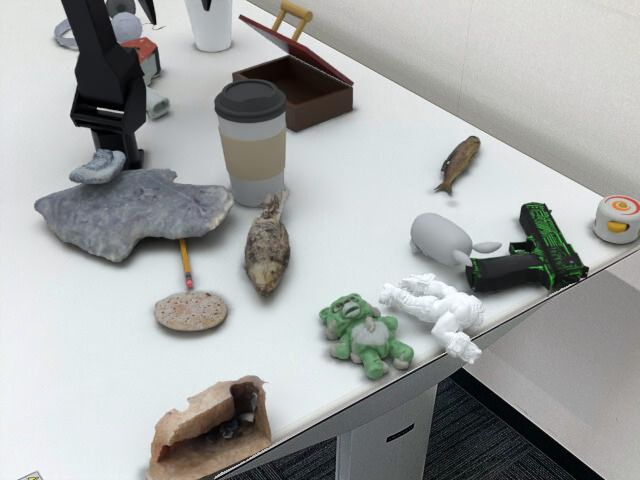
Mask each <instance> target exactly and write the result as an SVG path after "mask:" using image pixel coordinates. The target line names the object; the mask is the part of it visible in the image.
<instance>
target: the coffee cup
mask: <svg viewBox="0 0 640 480" xmlns="http://www.w3.org/2000/svg"><path fill="white" fill-rule="evenodd" d="M213 105H214V107H213V109H214V113H215V114H216V116H217V122H218V125H217V126H218V134H219V139H220V143H221V148H222V149H221V150H222V154H223V158H224V163H225V167H226V168H225V169H226V171H227V173H228V179H229V183H230V187H231V193H232V194H233V197H234V201H235V202H236V203H238V204H240V205H242V206H245V207H250V208H260V207H261V208H263V206H262V205H261V206H259V205H260V204H261V203H265V196H266V194H267V193H270V194H272V195H273V196H275V195H276V194H277V193H278V191H279V190H280V189H282V190H283V191H285V169H286V157H287V155H286V153H287V152H286V151H287V149H286V148H287V127H286V121H285V111H286V109H287V102H286V96H285V94H284V93H283V92H282V91H281V90H279V89H277V87H276V86H275V85H274V84H273V83H271V82H269V81H266V80H261V79H244V80H238V81H235V82H233V81H232V82H230V83H228V84H226V85H225V86H224V87H222V90H221V91H220V92H218V93H217V95H216V96H215V97H214V100H213ZM274 194H275V195H274ZM258 206H259V207H258Z"/></svg>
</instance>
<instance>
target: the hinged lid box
mask: <svg viewBox="0 0 640 480" xmlns="http://www.w3.org/2000/svg"><path fill="white" fill-rule="evenodd" d="M231 78H232V82H235V81H238V80H244V79H261V80H266V81H269V82H271V83H273V84H274V85H275V86H276V87H277V89H279V90H281V91H282V92H283V93H284V94H285V96H286V102H287V109H286V111H285V121H286V128H287V129H289V130H291V131H293V132H294V133H297V132H300V131H302V130H305V129H308V128H310V127H313V126H315V125H318V124H320V123H323V122H327V121H328V120H331V119H334V118H336V117H338V116H341V115H344V114H347V113H349V112H352V111H353V110H354V87H353V86H350V85H348V84H346V83H344V82H342V81H340V80H338V79H336V78H334V77H332V76H330V75H328V74H326V73H324V72H322V71H320V70H318V69H316V68H315V67H313V66H311V65H309V64H307V63H305V62H303V61H301V60H299V59H297V58H295V57H293V56H291V55H289V54H287V55H283V56H281V57H276V58H274V59H271V60H268V61H264V62H261V63H259V64H256V65H252V66H249V67H246V68H243V69H239V70H236V71H233V72H231Z"/></svg>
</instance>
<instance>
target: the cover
mask: <svg viewBox="0 0 640 480" xmlns="http://www.w3.org/2000/svg"><path fill="white" fill-rule="evenodd" d="M279 7H280V11H279V13H278V15H277V17H276V19H275V21H274V23H273V25H272V26H271V28H270V27H267V26H266V25H263V24H262V23H260V22H258V21H256V20H253V19H251V18H249V17H247V16H245V15H243V14H241V13H240V14H239V16H238V17H237V18H238V19H239V20H240V21H241V22H243V23H244V24H245V25H247V26H248V27H250V28H251V29H253V30H254V31H255V32H257V33H258V34H260V35H261V36H262V37H264V38H265V39H266V40H268V41H269V42H270V43H272V44H274V45H275V46H276V47H278V48H279V49H281V50H282V51H283V52H284V53H286V54H287V55H291V56H293V57H295V58H297V59H299V60H301V61H302V62H304V63H306V64H308V65H310V66H312V67H314V68H316V69H318V70H320V71H322V72H324V73H326V74H328V75H330V76H332V77H334V78H336V79H338V80H339V81H341V82H343V83H345V84H347V85H349V86H351V87H353V86H354V85H355V82H354V81H353V80H351V79H350V78H349V77H347V76H346V75H345V74H344V73H342V72H341V71H340V70H338V69H337V68H335V67H334V66H333V65H332V64H330V63H329V62H328V61H327V60H325V59H324V58H322V57H321V56H320V55H318V54H317V53H315V52H314V51H313V50H312V49H311V48H309V47H308V46H306V45H304V44H302V43H300V42H298V41H299V38H300V36H301V35H302V33H303V31H304V29H305V27H306V25H307V24H308V23H310V22H311V21H312V20H313V18H314V14H313V11H311V10H309V9H306V8H304V7H302V6H300V5H298V4H296V3H294V2H292V1H289V0H282V1H281V3H280V6H279ZM286 15H291V16H293V17H295V18H297V19H299V20H300V21H299V23H298V24H297V27H296V29H295V31H294V33H293V35H292V36H291V37H288V36H286V35H284V34H282V33H280V32H279V31H278V30H279V29H280V26H281V25H282V23H283V21H284V19H285V17H286Z"/></svg>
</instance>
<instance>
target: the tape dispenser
mask: <svg viewBox="0 0 640 480" xmlns="http://www.w3.org/2000/svg"><path fill="white" fill-rule="evenodd" d="M119 44H120V45H121V46H125V47H131V48H135V50H136V51H137V53H138V56H139V61H140V65H141V68H142V70H143V72H144V73H145V76H143V79H144V82H145V85H146V90H147V103H146V112H148V114H149V117H150V118H152V119H157V118H159V117H161V116H164V115H166V113H168V112H169V110H170V108H171V101H170V99H169V98H168V97H167V96H164V95H163V96H162V95H160V93H158V92H157V91H155V90H153V89H152V88H151V87H149V86H150V84H151V82H152V80H151V79H153V78H157V77H159V76H160V75H161V71H162V67H161V61H160V59H161V58H160V52H159V47H158V45H157V43H155V42H153V41H152V40H151V39H149V37H148V36H142V37H140V38H139V39H133V40H130V41H128V42H125V43H119ZM78 56H79V53H78V54H77V55H76V57H75V59H76V60H77V59H78Z"/></svg>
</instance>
